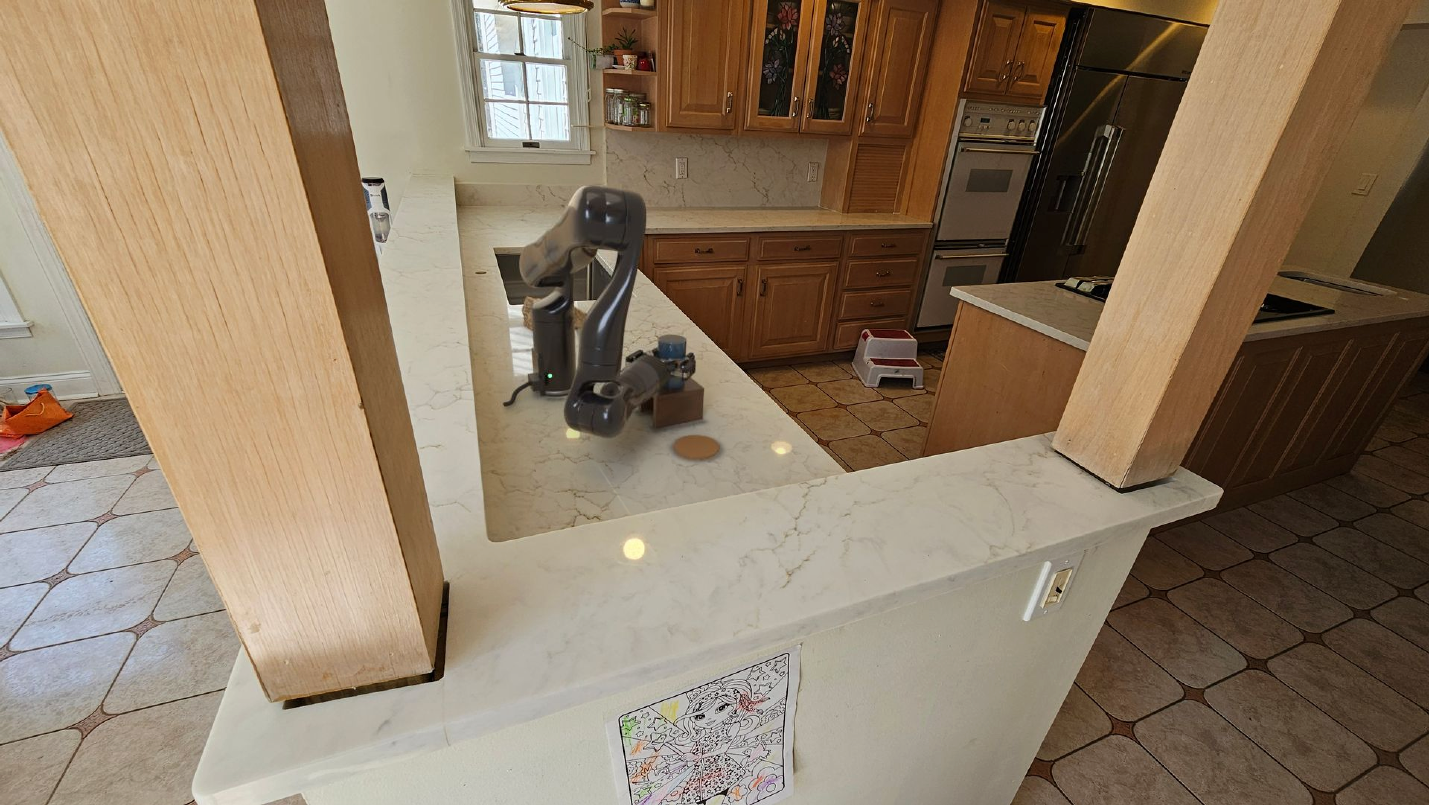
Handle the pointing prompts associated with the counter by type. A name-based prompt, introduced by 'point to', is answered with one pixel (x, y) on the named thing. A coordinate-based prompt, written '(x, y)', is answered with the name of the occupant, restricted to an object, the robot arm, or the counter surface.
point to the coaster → (696, 447)
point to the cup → (672, 355)
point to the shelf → (676, 405)
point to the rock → (529, 301)
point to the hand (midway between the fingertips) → (675, 353)
